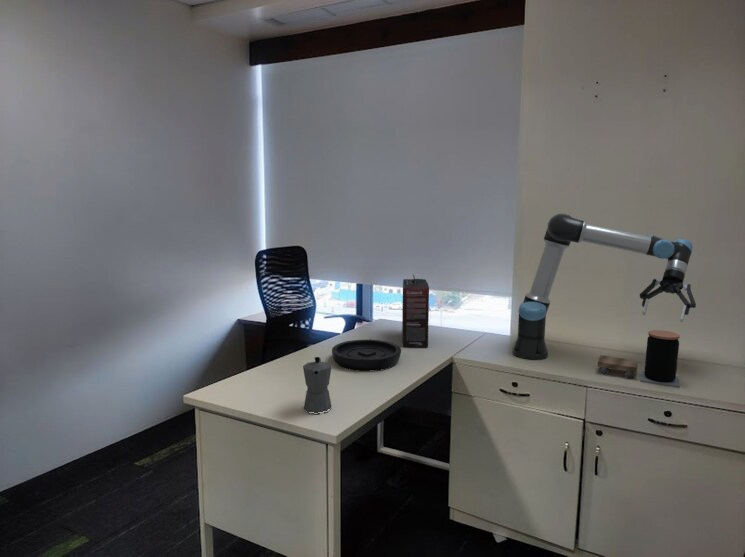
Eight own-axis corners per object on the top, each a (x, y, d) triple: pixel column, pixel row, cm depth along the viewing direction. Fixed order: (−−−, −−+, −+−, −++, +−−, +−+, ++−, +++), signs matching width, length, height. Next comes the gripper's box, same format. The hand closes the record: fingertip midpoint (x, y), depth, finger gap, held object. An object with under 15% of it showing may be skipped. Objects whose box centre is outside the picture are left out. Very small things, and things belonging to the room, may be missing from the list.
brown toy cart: (596, 373, 199) (597, 361, 199) (599, 366, 208) (600, 355, 207) (635, 379, 193) (636, 367, 192) (636, 372, 201) (637, 360, 200)
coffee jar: (681, 383, 188) (686, 337, 185) (653, 383, 187) (658, 337, 185) (664, 373, 198) (669, 330, 195) (638, 373, 198) (642, 330, 195)
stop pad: (640, 381, 191) (640, 379, 191) (640, 372, 201) (641, 370, 201) (679, 387, 185) (679, 386, 184) (678, 377, 195) (678, 376, 195)
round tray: (365, 347, 236) (317, 361, 214) (365, 335, 235) (317, 348, 213) (414, 360, 215) (367, 378, 194) (415, 347, 214) (367, 363, 193)
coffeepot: (331, 417, 158) (330, 363, 155) (301, 417, 158) (300, 363, 155) (332, 398, 173) (332, 348, 170) (305, 398, 173) (304, 349, 170)
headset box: (401, 334, 258) (402, 271, 253) (425, 334, 257) (426, 271, 252) (402, 347, 234) (403, 279, 229) (428, 348, 233) (430, 279, 228)
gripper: (709, 282, 202) (698, 328, 195) (642, 272, 217) (629, 314, 211) (710, 273, 196) (698, 319, 190) (641, 263, 212) (627, 306, 205)
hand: (662, 317), depth 200 cm, fingers open, 13 cm apart
